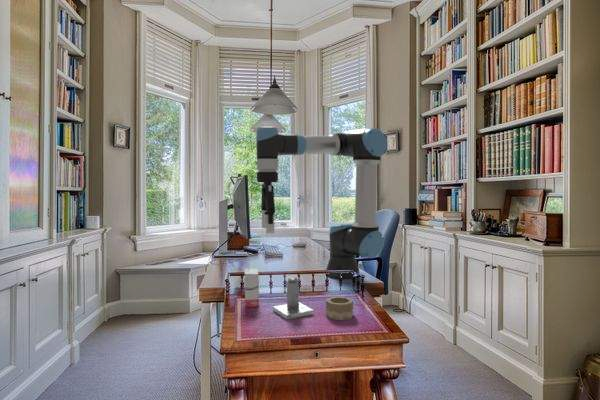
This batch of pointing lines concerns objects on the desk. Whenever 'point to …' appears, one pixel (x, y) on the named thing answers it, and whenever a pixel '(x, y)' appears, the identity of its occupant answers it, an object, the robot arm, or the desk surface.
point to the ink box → (251, 288)
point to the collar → (339, 308)
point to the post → (293, 303)
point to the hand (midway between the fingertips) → (267, 230)
